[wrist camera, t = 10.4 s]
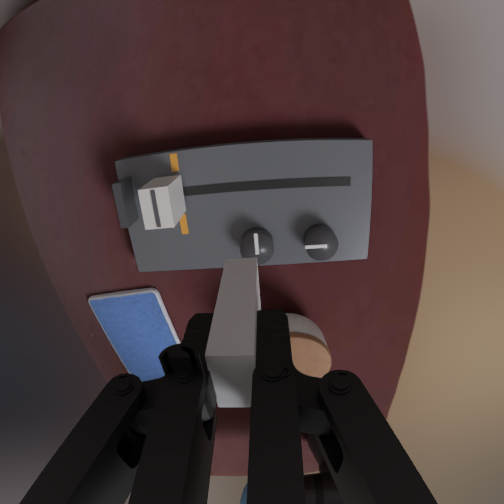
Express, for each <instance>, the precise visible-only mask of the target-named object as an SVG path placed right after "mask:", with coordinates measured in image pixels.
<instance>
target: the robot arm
mask: <svg viewBox="0 0 504 504" xmlns="http://www.w3.org/2000/svg"><path fill="white" fill-rule="evenodd" d="M158 358H159V360H160V363H161V366H162V368H163V371H164V373H165V376H163V377H161V378H157V379H153V380H148V381H143V382H142V381H141V380H140V378H139V377H138V376H136V375H134V374H128V373H126V374H120V375H118V376H116V377H114V378H113V379H112V380H110V381H109V382H108V384H107V385H106V386H105V388H104V389H103V390H102V391H101V393H100V394H99V395H98V397H97V398H96V399H95V401H94V402H93V403H92V405H91V406H90V407H89V409H88V410H87V411H86V412H85V414H84V415H83V417H82V418H81V419H80V420H79V422H78V423H77V424H76V426H75V427H74V429H73V430H72V431H71V433H70V434H69V435H68V437H67V438H66V439H65V441H64V442H63V444H62V445H61V446H60V447H59V449H58V450H57V451H56V453H55V454H54V456H53V457H52V458H51V460H50V461H49V463H48V464H47V465H46V467H45V468H44V470H43V471H42V472H41V474H40V475H39V476H38V478H37V479H36V481H35V482H34V484H33V485H32V486H31V488H30V489H29V491H28V492H27V494H26V495H25V496H24V498H23V499H22V501H21V502H20V504H124V503H125V501H126V499H127V497H128V496H129V494H130V492H131V495H130V499H129V503H128V504H207V499H208V489H209V481H210V473H211V464H212V456H213V448H214V440H215V431H216V423H217V416H216V412H215V406H216V401H217V405H218V407H251V417H250V440H249V462H248V483H247V484H246V486H245V487H244V490H243V493H242V496H241V500H240V504H437V502H436V500H435V499H434V497H433V495H432V494H431V492H430V490H429V489H428V487H427V485H426V484H425V482H424V481H423V479H422V477H421V475H420V474H419V472H418V471H417V470H416V467H415V466H414V464H413V462H412V461H411V459H410V458H409V456H408V454H407V453H406V451H405V450H404V448H403V446H402V445H401V443H400V442H399V440H398V438H397V437H396V435H395V434H394V432H393V430H392V429H391V427H390V426H389V424H388V422H387V421H386V419H385V418H384V416H383V414H382V413H381V411H380V410H379V408H378V407H377V405H376V403H375V402H374V400H373V399H372V397H371V396H370V394H369V393H368V391H367V389H366V388H365V386H364V385H363V383H362V382H361V380H360V379H359V378H358V377H357V376H356V375H355V374H354V373H352V372H349V371H346V370H334V371H331V372H328V373H326V374H325V375H324V376H323V377H322V378H318V377H312V376H308V375H305V374H303V373H301V372H300V371H299V370H297V369H296V367H295V366H294V364H293V361H292V351H291V341H290V332H289V323H288V316H287V315H286V314H285V313H284V311H283V310H282V309H276V310H261V301H260V288H259V276H258V263H257V257H253V258H236V259H226V261H225V265H224V270H223V274H222V278H221V283H220V287H219V292H218V296H217V301H216V306H215V310H214V313H198V314H195V315H194V316H193V317H192V318H191V319H190V320H189V321H188V325H187V328H186V332H185V334H184V339H183V341H182V343H180V344H174V345H171V346H169V347H167V348H165V349H164V350H163V351H162V352H161V353H160V355H159V356H158ZM300 432H303V433H307V439H308V445H309V447H310V449H311V451H312V453H313V455H314V457H315V459H316V461H317V462H318V465H319V471H320V473H317V474H307V475H304V473H303V459H302V446H301V434H300ZM131 490H132V491H131Z"/></svg>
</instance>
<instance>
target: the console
mask: <svg viewBox="0 0 504 504" xmlns="http://www.w3.org/2000/svg"><path fill="white" fill-rule="evenodd" d="M115 165H116V171H117V177H118V181H116V182H114V183H113V184H112V188H113V193H114V198H115V203H116V207H117V212H118V216H119V221H120V225H121V229H122V228H128V230H129V234H130V238H131V242H132V246H133V250H134V254H135V258H136V262H137V266H138V269H139V272H147V271H168V270H189V269H208V268H224V265H225V261H226V259H236V258H253V257H257V263H258V266H262V265H279V264H295V263H311V262H326V261H342V260H356V259H367V254H368V243H369V230H370V215H371V195H372V140H370V139H367V138H298V139H276V140H259V141H246V142H234V143H223V144H214V145H205V146H196V147H188V148H181V149H174V150H167V151H160V152H154V153H148V154H142V155H136V156H130V157H125V158H122V159H119V160H117V161H115ZM174 175H181V179H182V186H183V193H184V199H185V206H186V212H185V213H184V214H183V216H182V217H181V219H180V220H179V222H178V223H177V225H176V226H175V228H163V229H152V230H145V225H144V221H143V216H142V211H141V206H140V201H139V196H138V189H140V188H141V187H143V186H144V185H145V184H147V183H148V182H149V181H151V180H152V179H154V178H158V177H166V176H174Z"/></svg>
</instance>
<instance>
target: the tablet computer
mask: <svg viewBox="0 0 504 504" xmlns="http://www.w3.org/2000/svg"><path fill="white" fill-rule="evenodd" d="M88 302H89V304H90V306H91V308H92V310H93V312H94V314H95V316H96V318H97V320H98V321H99V323H100V325H101V327H102V329H103V330H104V332H105V334H106V336H107V338H108V339H109V341H110V343H111V345H112V346H113V348H114V350H115V351H116V353H117V355H118V356H119V358H120V359H121V361H122V363H123V364H124V366H125V368H126V369H127V371H128V372H129V374H134V375H136V376H138V377H139V378H140V380H141V381H142V382H143V381H148V380H153V379H157V378H161V377H163V376H165V373H164V371H163V368H162V366H161V363H160V360H159V358H158V356H159V355H160V353H161V352H162V351H163V350H164V349H165V348H167V347H169V346H171V345H174V344H180V341H179V338H178V336H177V334H176V332H175V329H174V327H173V325H172V323H171V320H170V318H169V316H168V313H167V311H166V308H165V306H164V304H163V301H162V298H161V296H160V293H159V291H158V290H157V289H155V288H143V289H135V290H127V291H120V292H113V293H106V294H100V295H94V296H90V297H89V300H88Z"/></svg>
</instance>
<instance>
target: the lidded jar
mask: <svg viewBox="0 0 504 504" xmlns="http://www.w3.org/2000/svg"><path fill="white" fill-rule="evenodd" d="M285 314H286V315H287V316H288V323H289V332H290V341H291V351H292V361H293V364H294V366H295V367H296V369H297V370H299V371H300V372H301V373H303V374H305V375H308V376H312V377H318V378H322V377H323V376H324V375H325V374H326V373H328V372H329V370H330V367H331V356H330V352H329V350H328V347H327V343H326V340H325V338H324V336H323V334H322V332H321V331H320V329H319V328H318V326H317V325H316V324H315V323H314V322H312V321H311V320H310V319H308V318H307V317H304V316H302V315H299V314H294V313H285Z"/></svg>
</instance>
